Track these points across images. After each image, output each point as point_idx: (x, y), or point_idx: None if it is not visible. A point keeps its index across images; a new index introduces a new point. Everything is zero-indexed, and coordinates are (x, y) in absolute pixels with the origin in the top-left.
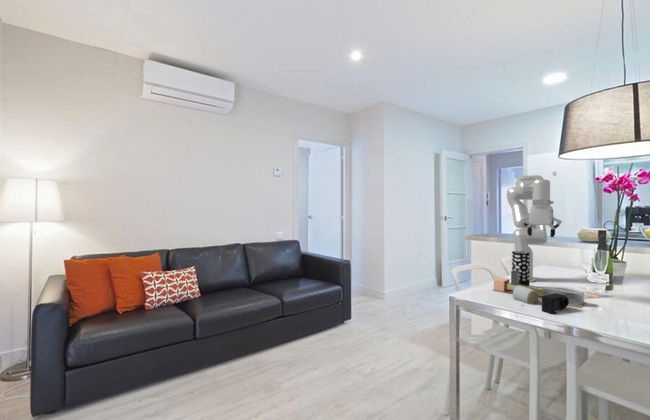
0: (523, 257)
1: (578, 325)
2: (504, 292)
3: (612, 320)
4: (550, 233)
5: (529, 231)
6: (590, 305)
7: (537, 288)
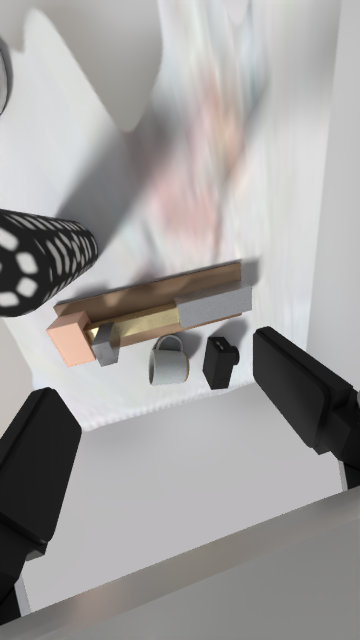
0: (55, 293)
1: (250, 376)
2: None
3: (278, 321)
4: (275, 405)
5: (62, 487)
6: (243, 263)
7: (164, 321)
